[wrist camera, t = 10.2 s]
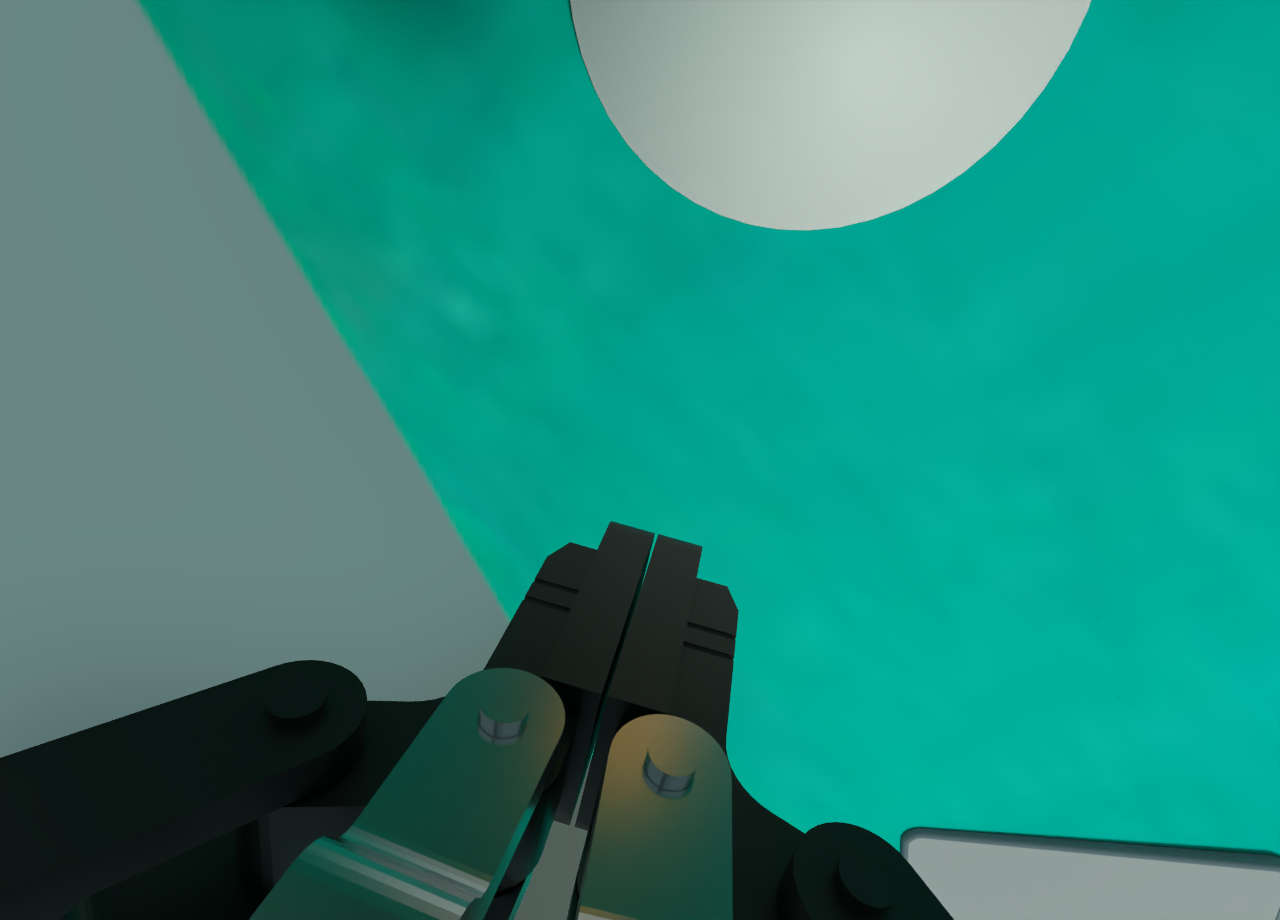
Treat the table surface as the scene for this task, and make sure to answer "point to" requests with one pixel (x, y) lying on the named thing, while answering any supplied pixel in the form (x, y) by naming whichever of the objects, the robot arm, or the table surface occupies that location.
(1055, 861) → the smartphone
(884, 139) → the disc
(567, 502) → the table surface
